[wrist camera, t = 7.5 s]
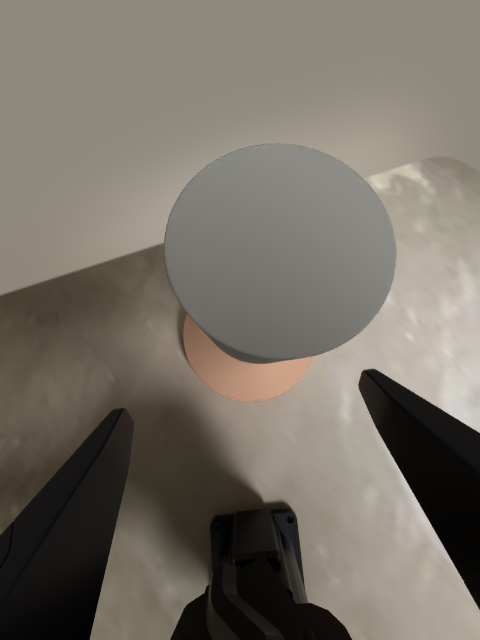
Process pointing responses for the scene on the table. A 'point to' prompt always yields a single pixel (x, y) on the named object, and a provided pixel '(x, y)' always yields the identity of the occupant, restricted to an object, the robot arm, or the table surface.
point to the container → (279, 252)
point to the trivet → (238, 369)
